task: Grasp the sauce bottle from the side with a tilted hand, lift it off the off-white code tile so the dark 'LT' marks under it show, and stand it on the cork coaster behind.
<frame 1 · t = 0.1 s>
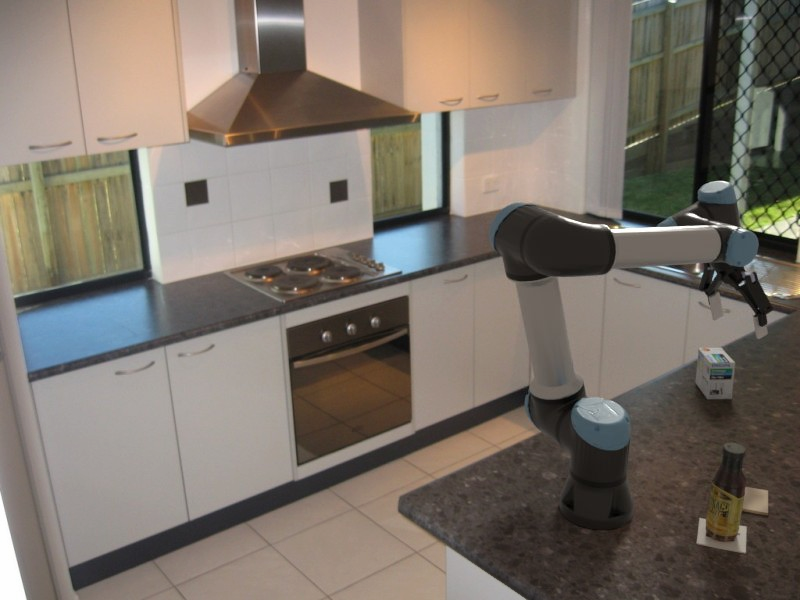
hand: (739, 326, 199), 28 cm above the counter, tool tilted 20°, fingers open, 13 cm apart
sauce bottle: (721, 535, 169), resting on code tile
coaster: (744, 500, 180), on the counter
light bulb box: (712, 391, 230), on the counter
code tile: (721, 535, 169), on the counter
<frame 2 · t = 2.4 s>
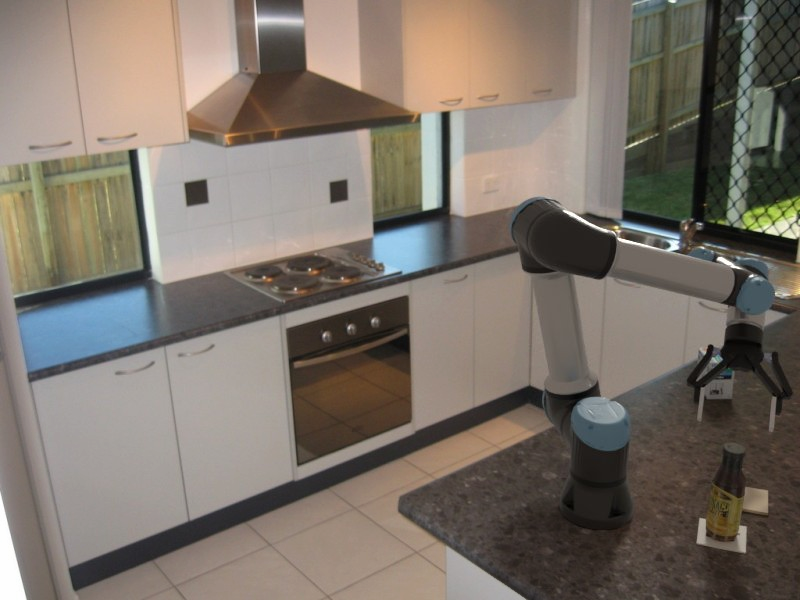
hand: (734, 424, 171), 20 cm above the counter, tool tilted 45°, fingers open, 13 cm apart
nothing on the counter moved.
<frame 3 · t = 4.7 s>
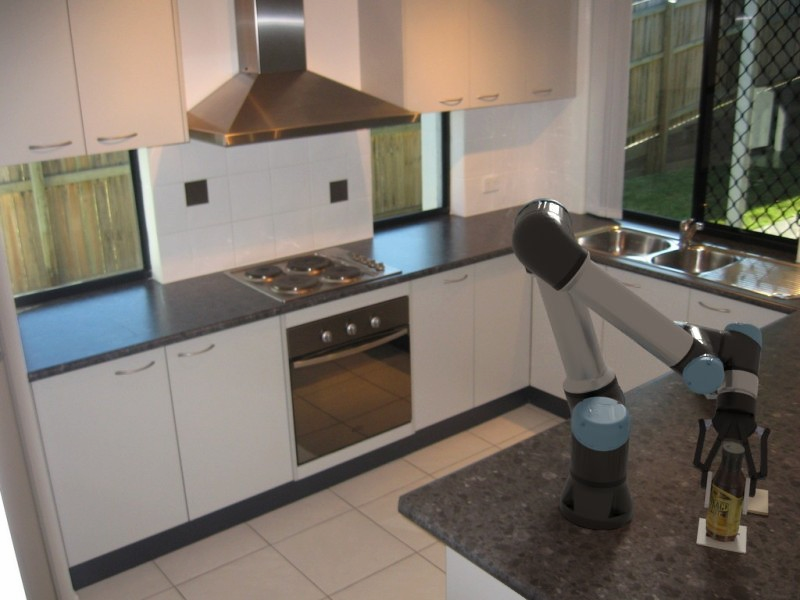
hand: (725, 509, 163), 8 cm above the counter, tool tilted 45°, fingers closed on sauce bottle, 6 cm apart
sauce bottle: (721, 535, 169), resting on code tile, touching gripper
everything else where it was.
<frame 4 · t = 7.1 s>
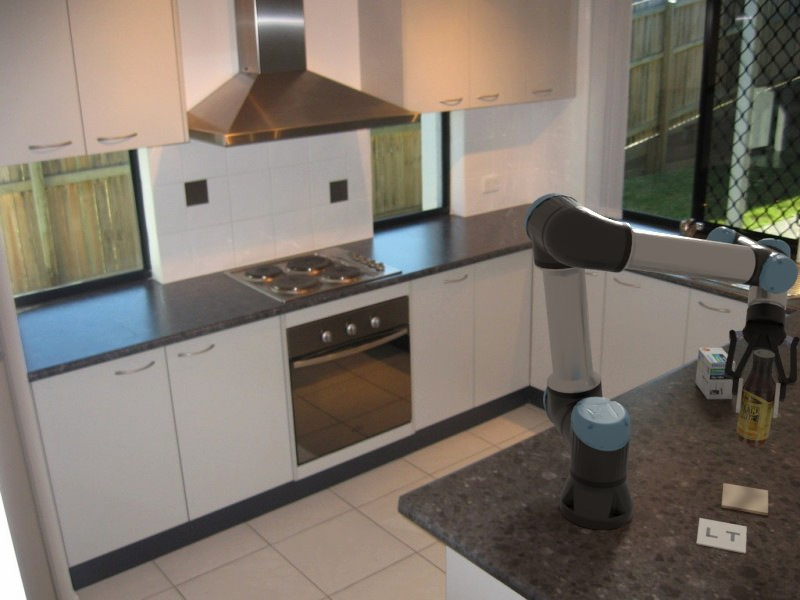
hand: (756, 413, 169), 23 cm above the counter, tool tilted 45°, fingers closed on sauce bottle, 6 cm apart
sauce bottle: (752, 441, 175), point 14 cm above the counter, touching gripper
everything else where it was.
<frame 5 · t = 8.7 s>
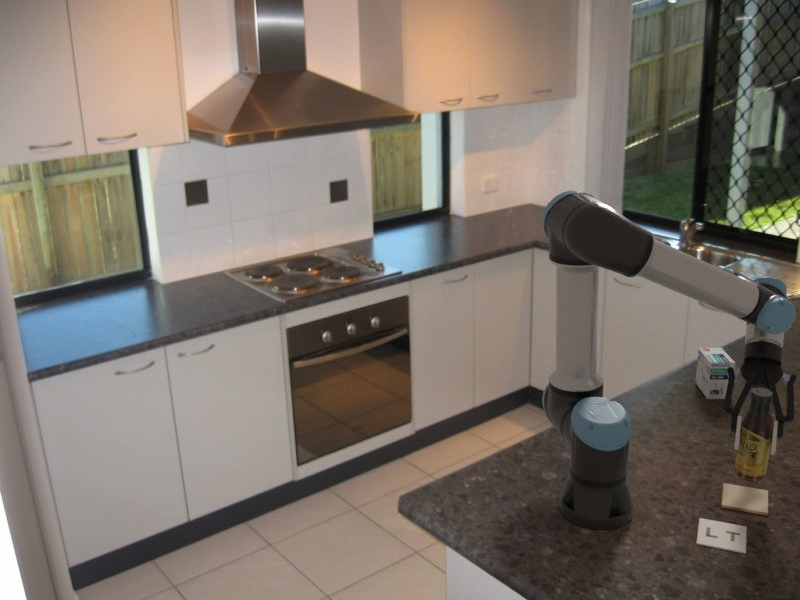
hand: (754, 450, 173), 14 cm above the counter, tool tilted 45°, fingers closed on sauce bottle, 6 cm apart
sauce bottle: (750, 476, 179), point 6 cm above the counter, touching gripper
everything else where it was.
when the fingers open (10 cm above the counter, at t = 9.9 s): sauce bottle stays where it is, resting on coaster.
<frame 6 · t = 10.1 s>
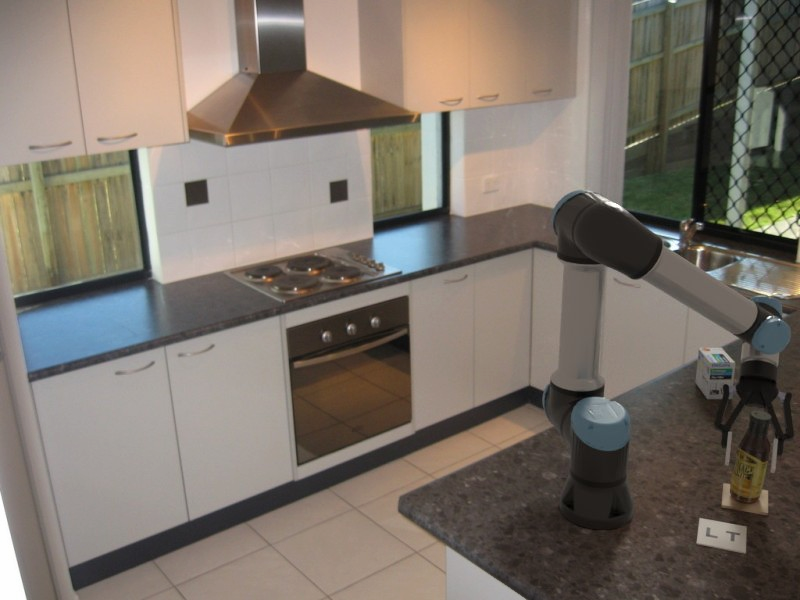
hand: (749, 467, 174), 10 cm above the counter, tool tilted 45°, fingers open, 8 cm apart
sauce bottle: (744, 497, 180), resting on coaster
everything else where it was.
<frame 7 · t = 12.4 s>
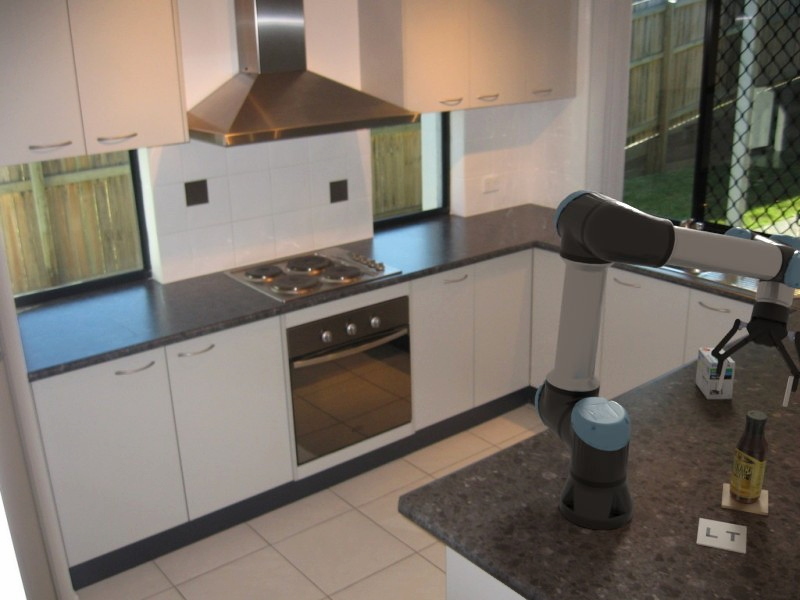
hand: (751, 398, 185), 18 cm above the counter, tool tilted 30°, fingers open, 13 cm apart
nothing on the counter moved.
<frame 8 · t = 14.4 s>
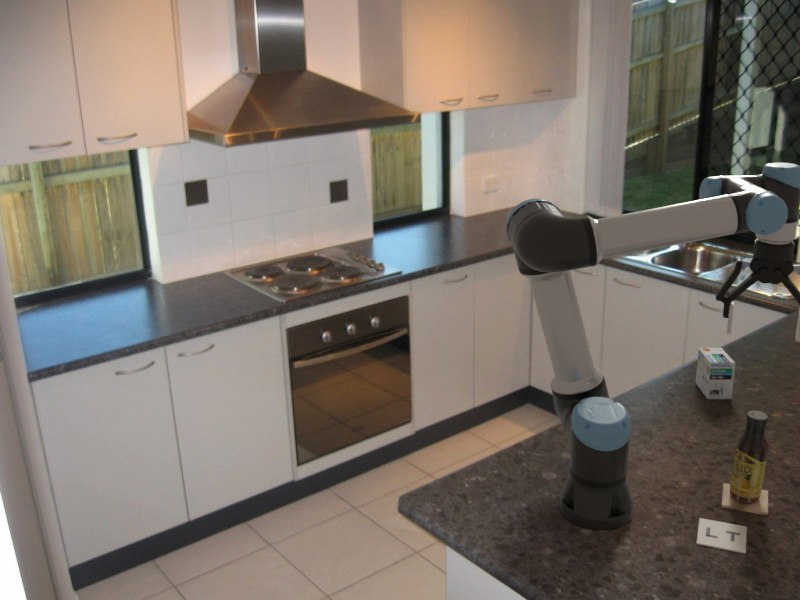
hand: (762, 335, 181), 33 cm above the counter, tool pointing down, fingers open, 13 cm apart
nothing on the counter moved.
at the end: sauce bottle inside the target area on the coaster (0.0 cm from its centre), point 0.4 cm above the coaster's base; sauce bottle tilted 0°; the gripper is holding nothing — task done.
